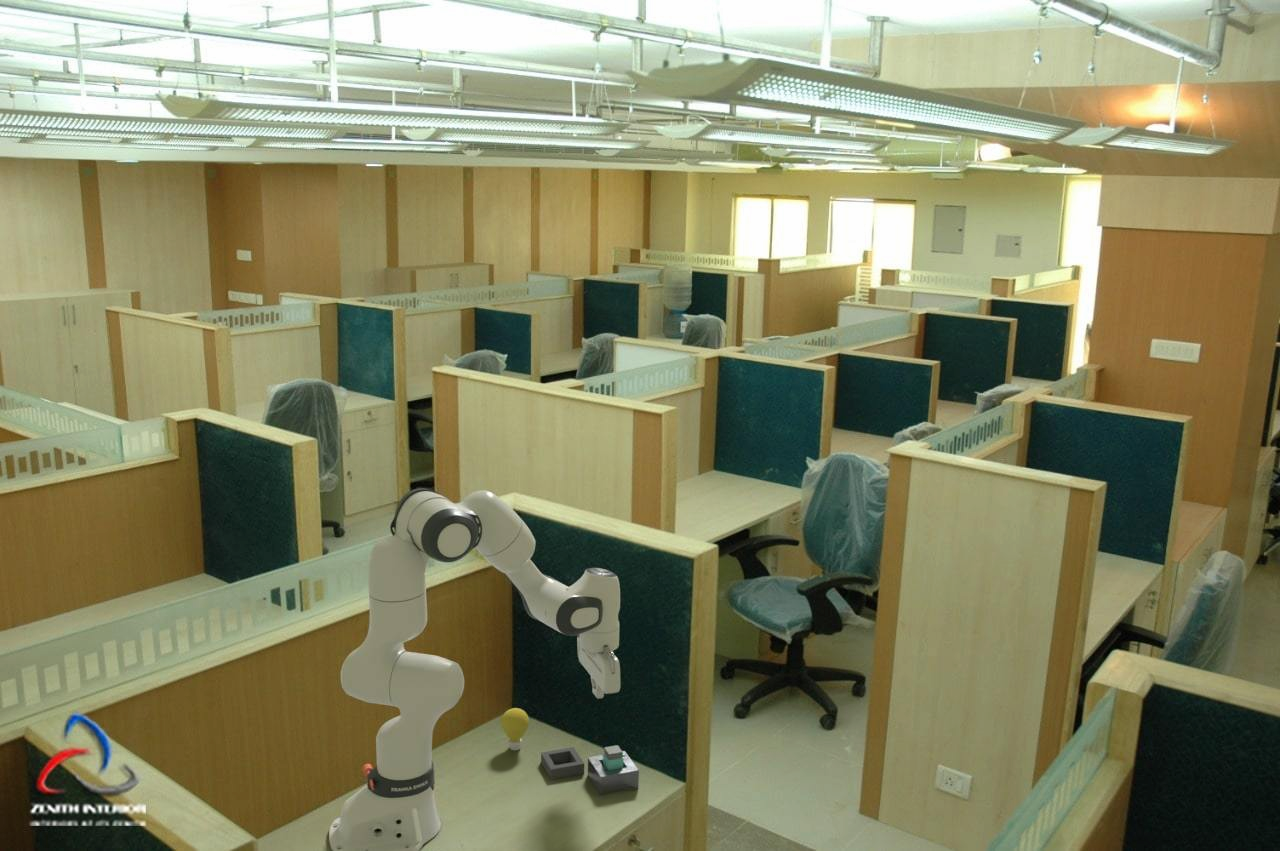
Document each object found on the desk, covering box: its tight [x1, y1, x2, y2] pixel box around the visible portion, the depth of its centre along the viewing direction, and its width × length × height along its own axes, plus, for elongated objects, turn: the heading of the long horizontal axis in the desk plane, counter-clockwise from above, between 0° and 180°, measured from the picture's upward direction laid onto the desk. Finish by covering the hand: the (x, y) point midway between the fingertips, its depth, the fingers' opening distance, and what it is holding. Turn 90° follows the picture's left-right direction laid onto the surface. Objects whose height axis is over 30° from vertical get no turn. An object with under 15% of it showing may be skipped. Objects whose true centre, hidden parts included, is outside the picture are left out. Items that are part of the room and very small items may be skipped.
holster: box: [540, 746, 585, 780], centre depth 245 cm, size 8×8×2 cm
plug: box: [602, 744, 623, 771], centre depth 239 cm, size 4×4×8 cm
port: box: [587, 750, 640, 796], centre depth 239 cm, size 9×9×5 cm
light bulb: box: [500, 707, 530, 751], centre depth 253 cm, size 7×7×10 cm
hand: (598, 695), depth 240 cm, fingers closed
